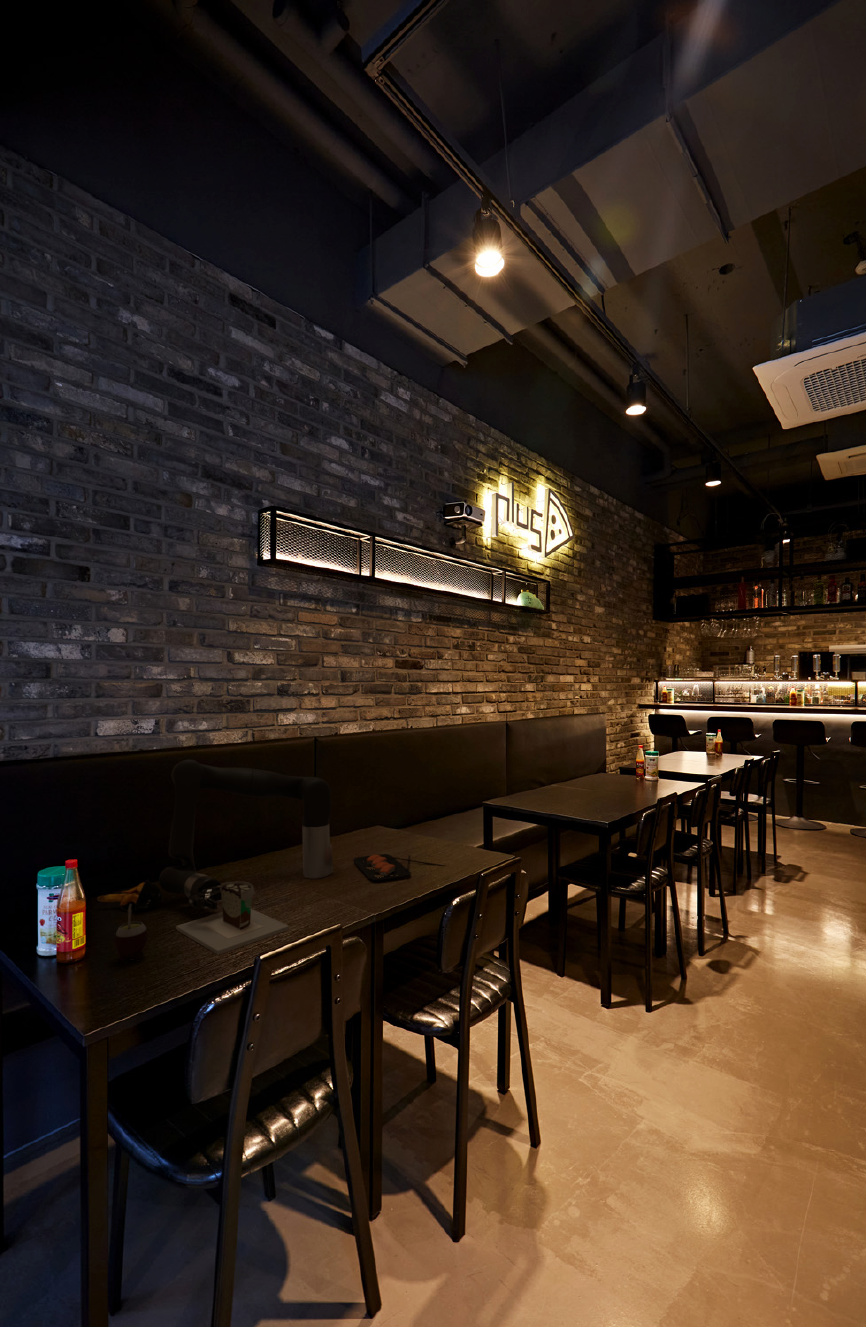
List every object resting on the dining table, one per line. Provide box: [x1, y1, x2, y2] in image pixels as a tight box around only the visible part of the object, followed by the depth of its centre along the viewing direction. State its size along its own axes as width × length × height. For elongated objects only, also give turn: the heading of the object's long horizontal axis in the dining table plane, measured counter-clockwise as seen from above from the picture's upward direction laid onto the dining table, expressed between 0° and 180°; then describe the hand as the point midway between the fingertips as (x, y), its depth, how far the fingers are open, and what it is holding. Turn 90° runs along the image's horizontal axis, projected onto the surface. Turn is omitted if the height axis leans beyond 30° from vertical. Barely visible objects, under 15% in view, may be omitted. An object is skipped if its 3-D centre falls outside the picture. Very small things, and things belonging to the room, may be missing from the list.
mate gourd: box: [114, 904, 148, 965], centre depth 148 cm, size 8×8×15 cm
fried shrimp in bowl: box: [97, 879, 163, 912], centre depth 182 cm, size 9×11×18 cm
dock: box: [175, 908, 290, 956], centre depth 164 cm, size 20×24×1 cm
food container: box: [220, 880, 255, 930], centre depth 166 cm, size 12×6×10 cm, turn 46°
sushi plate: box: [352, 853, 446, 881], centre depth 217 cm, size 29×30×4 cm
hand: (230, 901), depth 165 cm, fingers open, 7 cm apart
